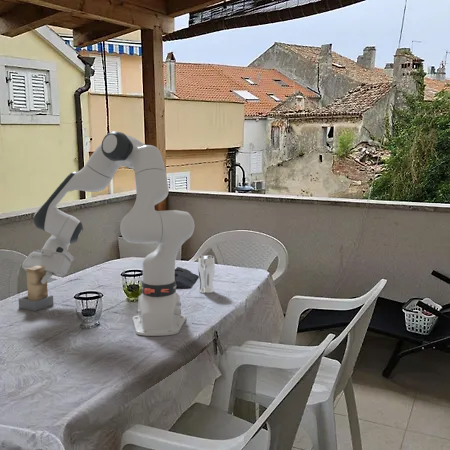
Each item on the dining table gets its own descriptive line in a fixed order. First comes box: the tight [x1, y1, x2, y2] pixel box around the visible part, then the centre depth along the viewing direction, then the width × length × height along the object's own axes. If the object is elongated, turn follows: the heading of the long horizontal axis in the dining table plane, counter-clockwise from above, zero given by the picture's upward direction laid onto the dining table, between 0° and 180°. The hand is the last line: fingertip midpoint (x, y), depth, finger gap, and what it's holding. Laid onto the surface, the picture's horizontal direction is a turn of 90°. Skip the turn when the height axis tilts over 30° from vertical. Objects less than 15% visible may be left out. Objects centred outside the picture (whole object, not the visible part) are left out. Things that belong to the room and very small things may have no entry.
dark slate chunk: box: [175, 266, 200, 290], centre depth 227 cm, size 15×22×5 cm
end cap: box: [18, 294, 54, 312], centre depth 192 cm, size 9×8×4 cm
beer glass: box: [197, 254, 216, 294], centre depth 211 cm, size 7×7×15 cm
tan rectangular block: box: [25, 266, 49, 301], centre depth 192 cm, size 6×4×12 cm, turn 154°
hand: (35, 282), depth 191 cm, fingers closed on tan rectangular block, 4 cm apart
